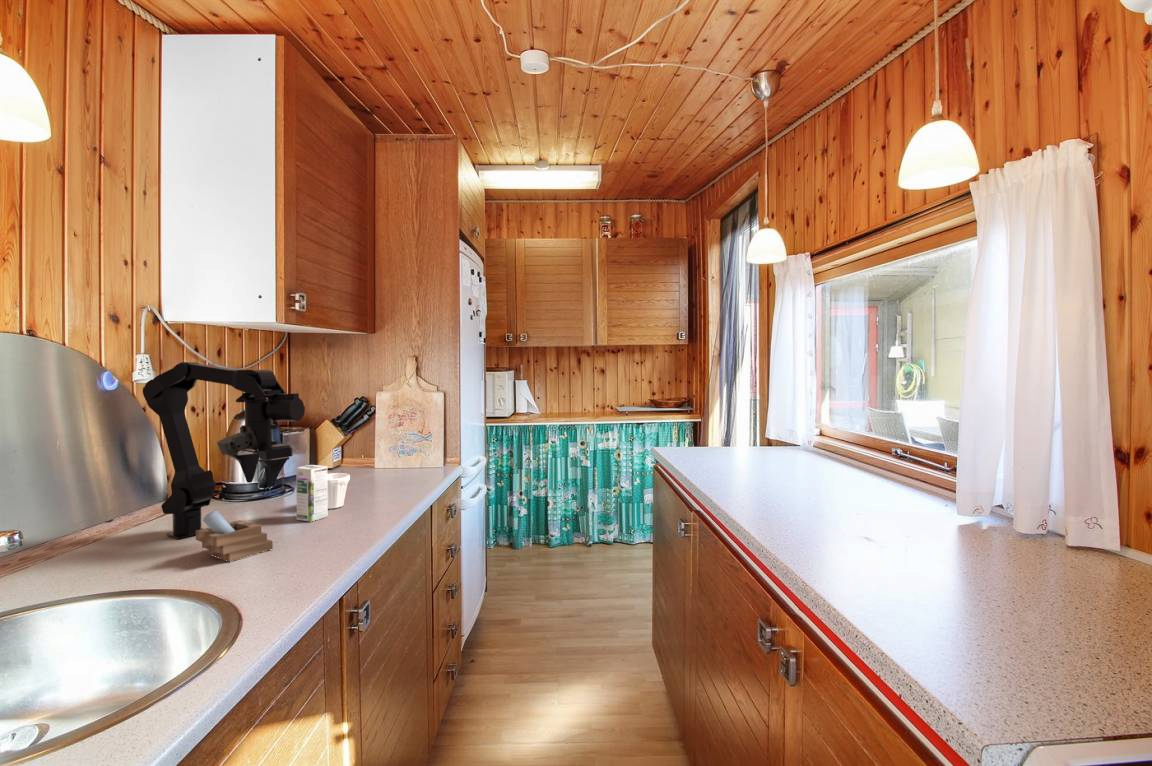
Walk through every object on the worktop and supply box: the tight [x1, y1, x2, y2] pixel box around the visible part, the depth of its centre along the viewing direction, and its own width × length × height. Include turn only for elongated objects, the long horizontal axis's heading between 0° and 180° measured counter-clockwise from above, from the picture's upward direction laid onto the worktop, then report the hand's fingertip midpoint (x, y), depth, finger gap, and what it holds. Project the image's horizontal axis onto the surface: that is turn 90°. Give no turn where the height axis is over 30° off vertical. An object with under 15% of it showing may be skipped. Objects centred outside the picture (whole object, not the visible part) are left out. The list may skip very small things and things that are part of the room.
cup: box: [327, 472, 351, 510], centre depth 153 cm, size 10×10×9 cm
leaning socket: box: [195, 520, 274, 562], centre depth 114 cm, size 9×11×6 cm
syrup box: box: [296, 464, 329, 523], centre depth 141 cm, size 6×6×14 cm
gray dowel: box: [202, 510, 235, 534], centre depth 112 cm, size 3×3×10 cm
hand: (259, 484), depth 125 cm, fingers open, 9 cm apart
